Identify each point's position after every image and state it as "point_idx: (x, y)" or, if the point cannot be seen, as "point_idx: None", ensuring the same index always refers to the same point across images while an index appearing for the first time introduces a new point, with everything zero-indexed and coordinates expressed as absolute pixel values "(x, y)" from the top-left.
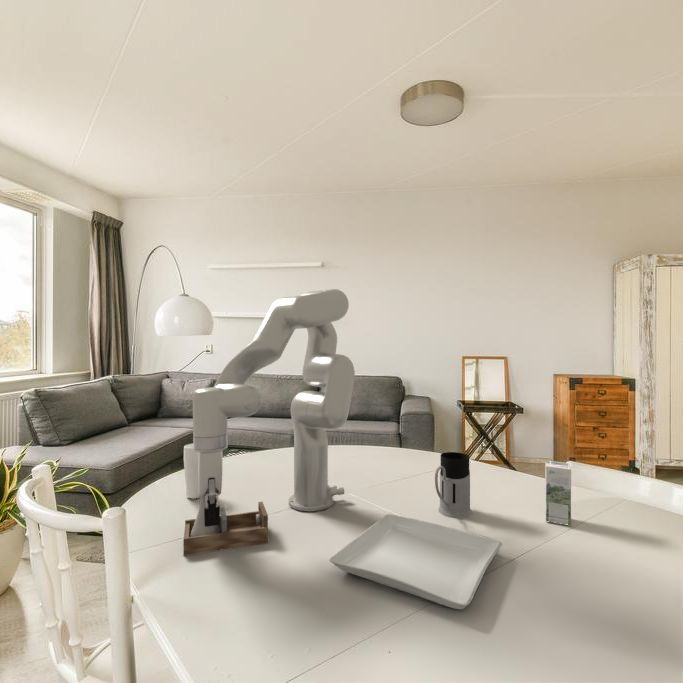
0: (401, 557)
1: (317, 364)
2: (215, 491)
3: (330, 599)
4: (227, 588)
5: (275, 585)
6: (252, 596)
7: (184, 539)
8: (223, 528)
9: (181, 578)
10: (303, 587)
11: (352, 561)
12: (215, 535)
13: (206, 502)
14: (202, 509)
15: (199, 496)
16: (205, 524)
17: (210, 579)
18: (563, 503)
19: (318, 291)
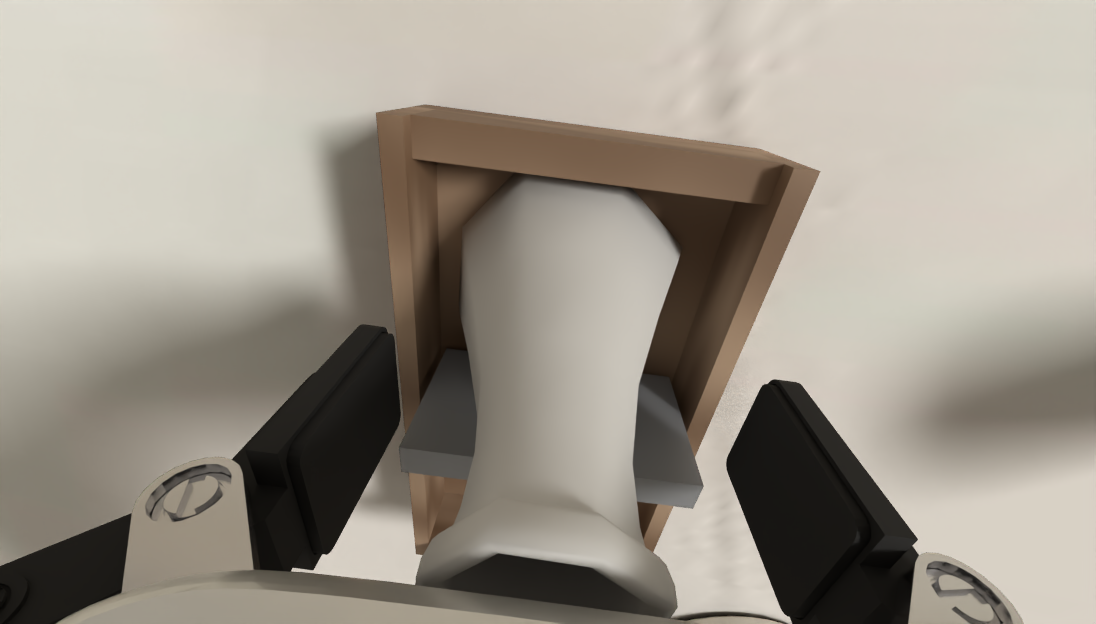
0: None
1: None
2: (815, 619)
3: (45, 512)
4: (55, 282)
5: (104, 428)
6: (14, 352)
7: (378, 121)
8: (421, 409)
9: (125, 64)
10: (101, 483)
11: None
12: (399, 344)
13: (135, 558)
14: (485, 395)
15: (77, 612)
16: (356, 336)
17: (127, 225)
18: None
19: None
